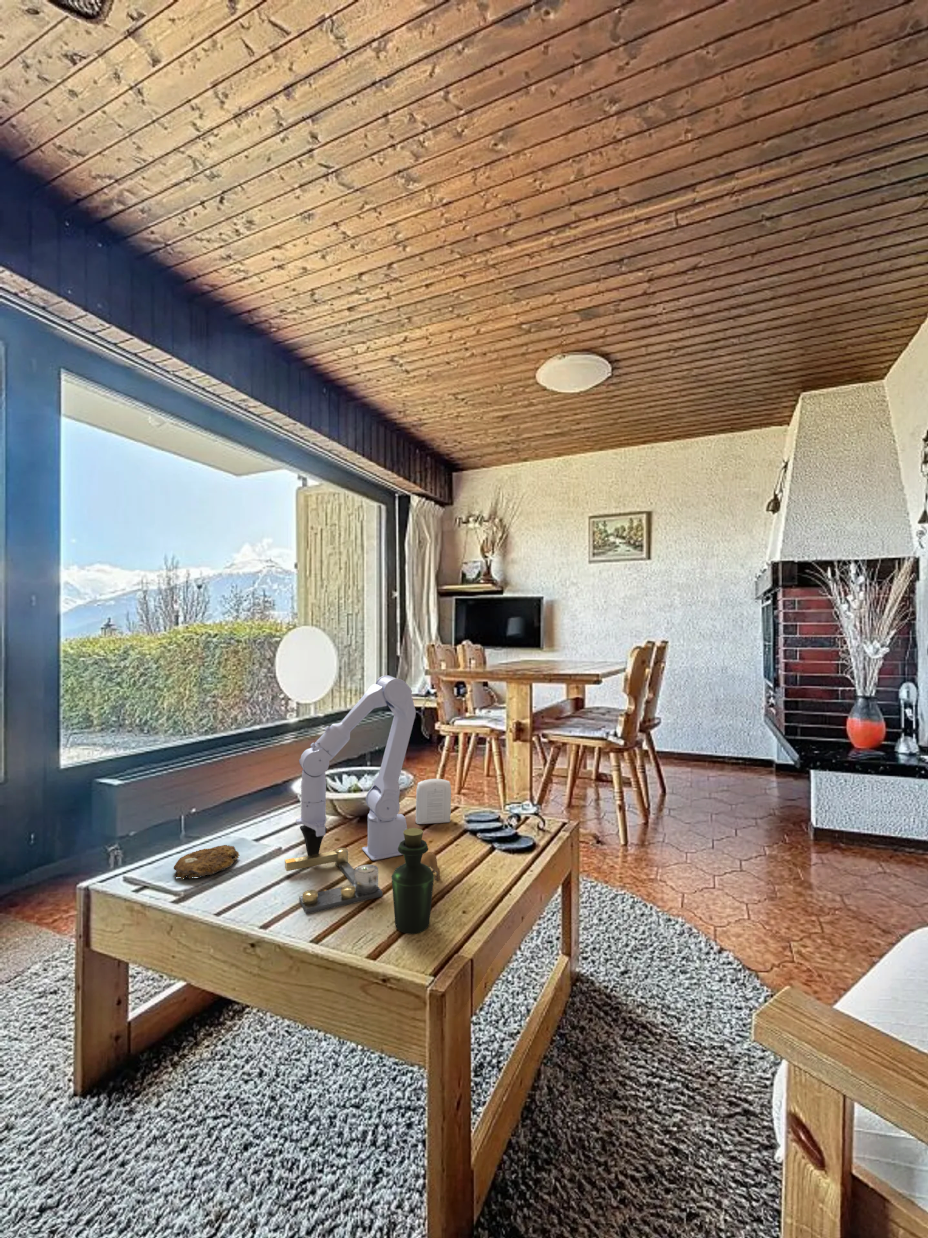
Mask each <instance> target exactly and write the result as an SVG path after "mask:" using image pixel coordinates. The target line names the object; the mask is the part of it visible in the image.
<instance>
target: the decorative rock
mask: <svg viewBox="0 0 928 1238" xmlns="http://www.w3.org/2000/svg"><path fill="white" fill-rule="evenodd" d="M239 856H240V853H239V851H237V850H236V847H235V846H234V845H233V846H232V845H227V844H223V845H217V846H214V847H210V848H203V849H198V850H196V851H192V852H190V853H187V854H185V855H184V856H181V857H180V858H179V859H178V860H177V861H176V863H175V865H174V866H173V870H174V871H175V873H174V877H175V876H176V877H181V878H180V880H181V879H183V878H185V877H186V876H187V877H186V878H187V879H190V878H192V877H200V876H202V877H204V878H205V876H208V875H210V876H212V875H214V874H216V873H218V872H222V871H225V870H226V869H227V868H229V867H231V866H232V865H233V864H234V863H235V861H237V860H238V859H239ZM186 878H185V879H186ZM200 878H201V877H200Z"/></svg>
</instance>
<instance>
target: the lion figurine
mask: <svg viewBox="0 0 928 1238" xmlns="http://www.w3.org/2000/svg"><path fill="white" fill-rule="evenodd" d="M420 863H422V864H424V865H427V866H428V867H430V869H431V870H432V872H433V874H435V873H436V875H435V876H434V880H436V881H439V880H441V870H440V868H439V866H438V860H437V855H436V854H435V853H433V851H427V852H426V853H424V854H423V855H422V859H421V862H420Z"/></svg>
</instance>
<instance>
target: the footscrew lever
mask: <svg viewBox="0 0 928 1238" xmlns="http://www.w3.org/2000/svg"><path fill="white" fill-rule="evenodd" d="M348 858H349V849H348V848H346V847H339V848H336V849H335V850H331V851H327V852H319V854H315V855H309V856H308V855H306V856H305V855H304V856H300V857H291V858H286V859H284V870H285V871H286V872H290V871H294V870H300V869H305V868H310V867H315V866H322V865H327V864H331V863H334V865H335V866H337V867H339V863H344V862H348V863H349V859H348Z"/></svg>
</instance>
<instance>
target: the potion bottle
mask: <svg viewBox="0 0 928 1238" xmlns="http://www.w3.org/2000/svg"><path fill="white" fill-rule="evenodd" d="M403 833H404V838H405V840H403V841H402V842H400V844H399V847H398V852H399V853H401V854H403V858H404V863H402V864H401V865H399V866H398V867H395V869H394V870H393V873H392V874H391V887H392V888H391V889H392V899H393V900H392V901H393V912H394V913H393V914H394V915H393V916H394V925H395V928H396V929H397V930H398V931H400V932H401V933H403V934H408V935H409V934H410V935H414V934H419V933H422V932H424V931H426V929H428V928H429V926H430V921H431V913H432V911H431V910H432V902H433V901H432V899H433V892H434V880H435V875H434V873H433V872H432V870H433V869H432V868H431V867H428V866H427V865H424V864H422V863H420V862H421V859H422V855H423V854H424V853H426V852H429V847H428V844H427V841H426V840H424V839H422V838H423V834H424V831H423V829H421V828H419V827H418V828H417V827H410V828H407V829H406V830H404V831H403Z"/></svg>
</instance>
